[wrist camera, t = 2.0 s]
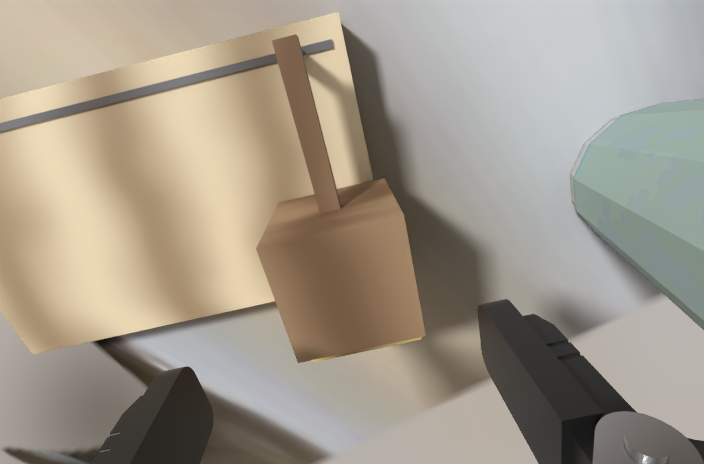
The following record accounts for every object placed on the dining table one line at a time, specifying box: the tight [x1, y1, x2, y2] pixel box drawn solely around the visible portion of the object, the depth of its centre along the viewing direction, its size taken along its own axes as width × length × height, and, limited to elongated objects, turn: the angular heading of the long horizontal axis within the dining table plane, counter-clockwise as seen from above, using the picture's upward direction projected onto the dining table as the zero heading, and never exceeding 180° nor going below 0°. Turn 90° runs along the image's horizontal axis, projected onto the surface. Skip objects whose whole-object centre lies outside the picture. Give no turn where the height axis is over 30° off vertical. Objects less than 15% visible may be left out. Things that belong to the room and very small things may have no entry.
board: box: [0, 12, 374, 354], centre depth 17 cm, size 20×12×2 cm, turn 103°
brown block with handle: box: [256, 34, 426, 363], centre depth 15 cm, size 5×13×7 cm, turn 13°
